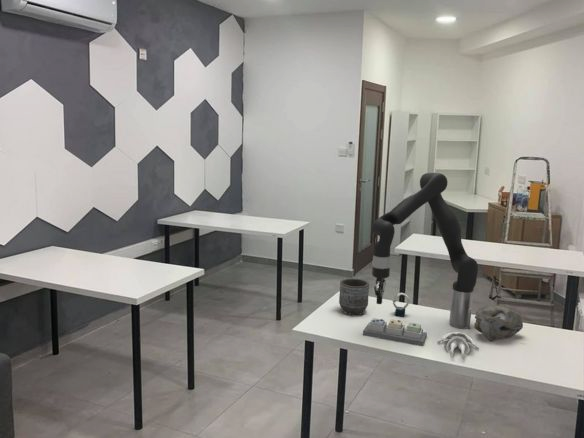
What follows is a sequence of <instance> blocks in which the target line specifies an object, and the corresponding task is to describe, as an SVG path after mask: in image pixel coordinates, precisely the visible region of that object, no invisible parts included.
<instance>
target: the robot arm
mask: <svg viewBox="0 0 584 438" xmlns="http://www.w3.org/2000/svg"><path fill="white" fill-rule="evenodd" d="M448 183H449V182H448V178H447V177H446V176H445V174H443V173H440V172H427V173H424V174H422V175H421V176H420V179H419V187H420V190H418V191H417V192H416V193H414V194H412V195H410V196H409V197H407V198H405V199H403V200H402V201H400V202H399V203H398V204H396V206H394V207H393V208H392V209H391V210H389V211H388V212H386V213H385V214H383V215H381V216H379V217H378V218H376V219H375V220H374V222H373V223H372V226H371V231H372V233H373V234H374V235H377V236H379V239H378V241H376V242H375V243H374V245H373V256H372V267H371V268H372V269H371V275H372V276H373V277H374V278H375V279H376V280H374V295H375V296H376V304H377V305H382V303H383V297H384V293H385V289H386V284H387V283H386V282H387V280H386V279H387V278H389V277H390V271H391V270H390V269H391V246H392V244H393V239H394V236H395V232H396V231H395V226H396V225H401V224H402V223H403V222H405V220H407V219H408V218H409V217H410V216H411V215H412V214H414V213H415V212H417V210H418V209H420V208H421V207H422V206H423V205H425V204H426V203H428V205H429V207H430V210H431V213H432V215H433V217H434V219H435V224H436V226H437V227H438V228H437V229H438V230H439V233H440V235H441V238H442V240H443V242H444V244H445V247H446V249H447V251H448V255H449V259H450V263H451V267H452V269H453V270H454V272H455V273H457V279H456V281H454V282H453V284H452V290H451V291H452V292H451V300H450V311H449V312H450V313H449V322H448V324H449V325H450V326H452V327H453V328H457V329H470V327H471V318H472V312H473V310H472V309H473V299H474V297H473V296H474V289H475V287H476V283H477V279H478V274H479V273H478V271H479V265H478V262H477V261H476V260H475V259H474V258H473V257H471V256H469V255H468V254H467V252H466V250H465V248H464V246H463V241H462V228H461V225H460V222H459V220H458V217H457V215H456V214H455V212H454V211H453V209H452V208H451V207H450V206H449V205H448V204H447V202H446V201H445V199H444V198H443V195H442V193H443V192H444V191H445V190H446V189H447V186H448Z"/></svg>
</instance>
